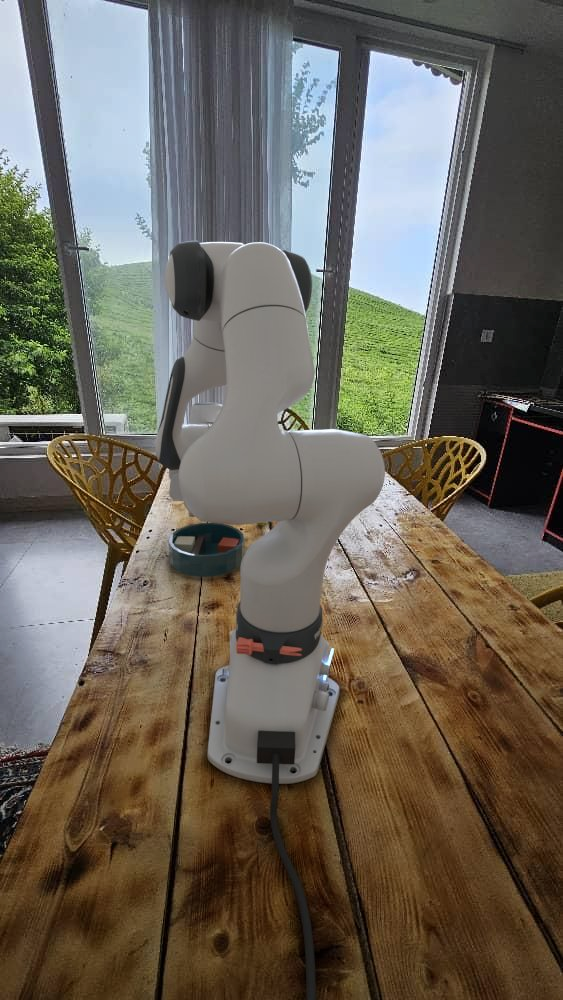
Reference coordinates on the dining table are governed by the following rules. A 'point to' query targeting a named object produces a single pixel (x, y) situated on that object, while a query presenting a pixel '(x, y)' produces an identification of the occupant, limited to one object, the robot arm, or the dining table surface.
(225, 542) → the terracotta block
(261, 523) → the fruit
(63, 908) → the dining table surface
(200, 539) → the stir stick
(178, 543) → the cream block
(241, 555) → the bowl
